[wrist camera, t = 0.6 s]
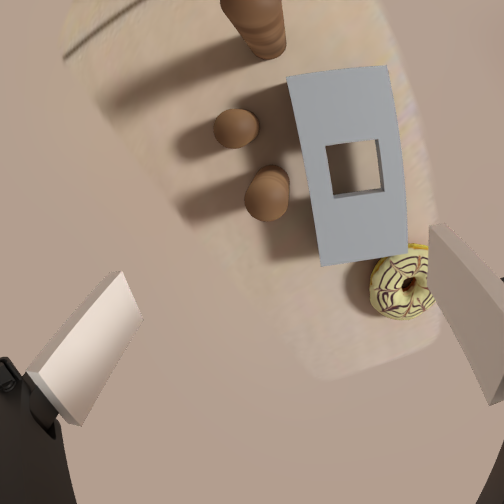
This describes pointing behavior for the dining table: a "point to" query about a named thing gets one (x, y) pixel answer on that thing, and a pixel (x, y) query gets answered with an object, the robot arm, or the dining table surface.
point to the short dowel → (236, 128)
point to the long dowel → (258, 25)
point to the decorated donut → (391, 279)
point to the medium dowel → (268, 194)
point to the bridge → (344, 131)
